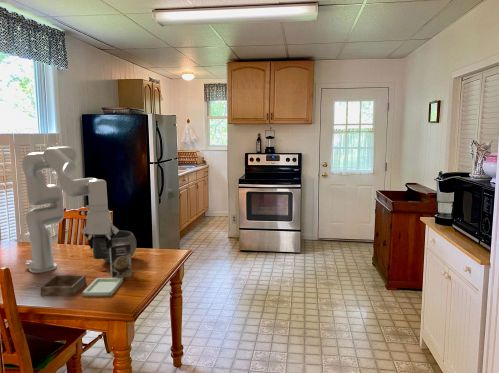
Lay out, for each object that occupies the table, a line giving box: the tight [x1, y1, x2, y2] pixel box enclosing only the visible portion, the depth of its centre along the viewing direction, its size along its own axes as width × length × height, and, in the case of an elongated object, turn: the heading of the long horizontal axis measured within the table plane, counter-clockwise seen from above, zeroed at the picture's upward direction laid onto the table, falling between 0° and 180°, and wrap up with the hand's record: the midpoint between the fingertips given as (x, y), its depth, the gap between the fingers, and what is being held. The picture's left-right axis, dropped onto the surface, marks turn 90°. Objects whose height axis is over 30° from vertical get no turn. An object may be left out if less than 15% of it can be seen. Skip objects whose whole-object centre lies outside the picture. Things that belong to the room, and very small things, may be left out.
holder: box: [39, 274, 87, 297], centre depth 170 cm, size 14×14×4 cm
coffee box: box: [109, 241, 133, 279], centre depth 185 cm, size 9×6×16 cm
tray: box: [81, 277, 124, 297], centre depth 171 cm, size 12×16×2 cm
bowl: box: [102, 230, 138, 264], centre depth 205 cm, size 20×20×15 cm
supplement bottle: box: [92, 235, 110, 260], centre depth 168 cm, size 7×7×12 cm
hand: (101, 247), depth 168 cm, fingers closed on supplement bottle, 6 cm apart
